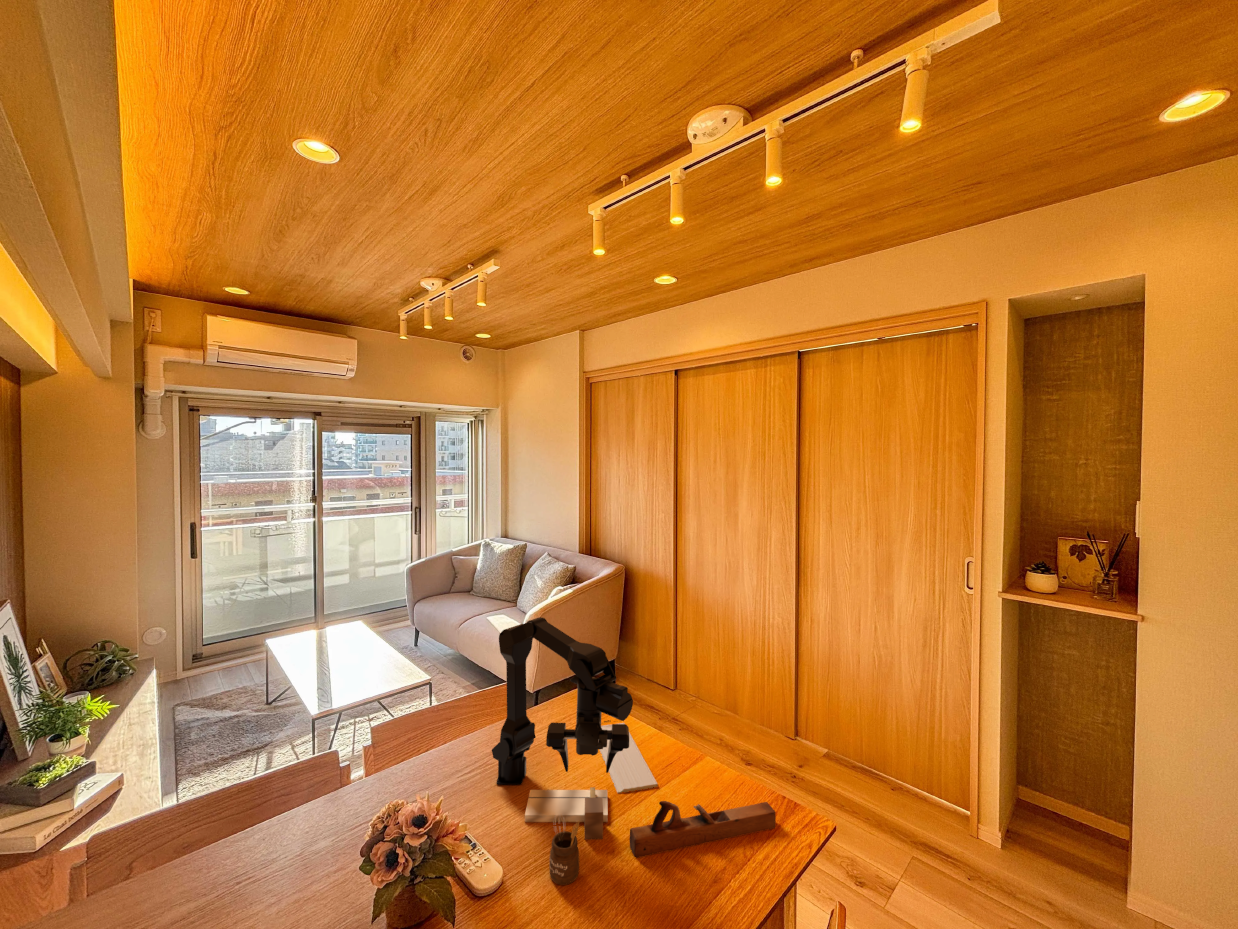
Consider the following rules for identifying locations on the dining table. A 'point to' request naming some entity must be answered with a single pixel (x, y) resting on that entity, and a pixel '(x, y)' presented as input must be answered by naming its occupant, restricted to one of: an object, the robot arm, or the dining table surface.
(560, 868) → the utensil holder
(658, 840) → the hand plane
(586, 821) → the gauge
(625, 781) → the baseboard molding
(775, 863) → the dining table surface
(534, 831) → the dining table surface
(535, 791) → the board
